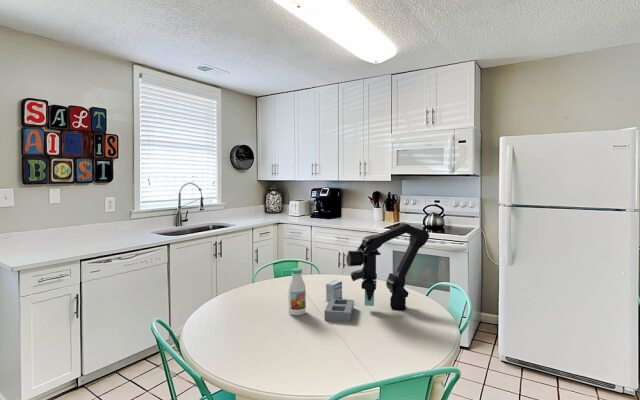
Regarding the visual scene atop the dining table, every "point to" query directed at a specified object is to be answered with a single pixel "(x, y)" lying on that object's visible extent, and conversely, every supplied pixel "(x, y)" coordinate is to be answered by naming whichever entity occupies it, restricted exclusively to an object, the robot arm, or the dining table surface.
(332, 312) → the socket plate
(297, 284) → the milk bottle
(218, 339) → the dining table surface
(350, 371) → the dining table surface
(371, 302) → the plug
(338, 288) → the medicine box
